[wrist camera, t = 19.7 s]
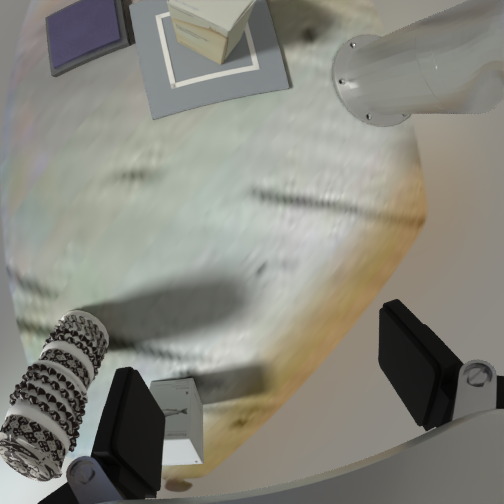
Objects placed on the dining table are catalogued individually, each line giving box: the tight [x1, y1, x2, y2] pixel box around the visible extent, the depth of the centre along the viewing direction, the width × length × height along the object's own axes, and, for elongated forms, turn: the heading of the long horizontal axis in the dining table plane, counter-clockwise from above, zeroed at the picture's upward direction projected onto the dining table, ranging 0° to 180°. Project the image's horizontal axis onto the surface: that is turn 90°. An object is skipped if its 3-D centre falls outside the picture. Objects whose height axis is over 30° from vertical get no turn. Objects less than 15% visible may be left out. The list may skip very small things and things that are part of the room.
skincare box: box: [167, 0, 256, 65], centre depth 24 cm, size 6×4×12 cm
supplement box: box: [149, 378, 204, 465], centre depth 41 cm, size 7×7×13 cm
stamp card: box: [129, 0, 289, 120], centre depth 29 cm, size 16×16×1 cm
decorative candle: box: [0, 310, 109, 482], centre depth 30 cm, size 9×9×25 cm
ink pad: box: [46, 0, 130, 77], centre depth 26 cm, size 10×9×2 cm
